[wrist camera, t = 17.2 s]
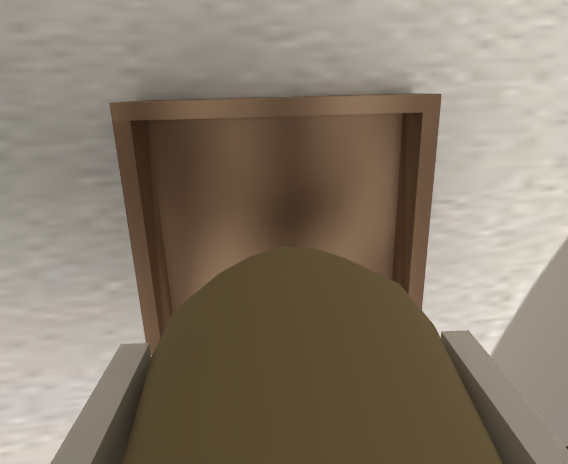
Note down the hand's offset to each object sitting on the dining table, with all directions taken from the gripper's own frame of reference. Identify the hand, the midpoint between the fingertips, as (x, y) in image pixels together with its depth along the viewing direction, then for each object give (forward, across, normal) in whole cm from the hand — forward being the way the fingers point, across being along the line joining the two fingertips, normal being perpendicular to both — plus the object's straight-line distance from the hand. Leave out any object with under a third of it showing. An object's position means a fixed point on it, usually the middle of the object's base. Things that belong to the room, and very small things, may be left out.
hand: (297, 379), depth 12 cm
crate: (+14, 0, 0) cm, 14 cm away
